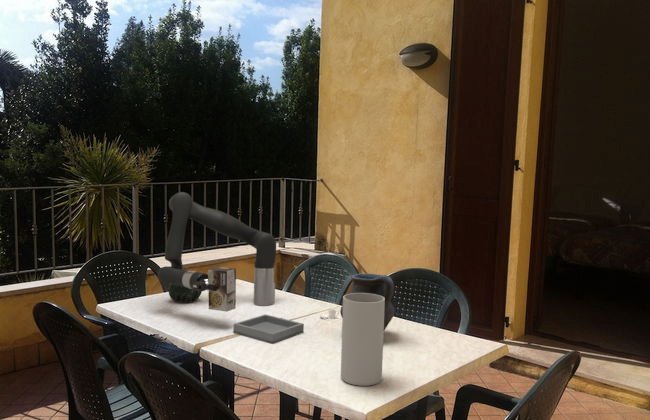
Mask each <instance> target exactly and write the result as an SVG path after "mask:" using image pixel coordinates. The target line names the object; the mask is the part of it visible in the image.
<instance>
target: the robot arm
mask: <svg viewBox="0 0 650 420" xmlns="http://www.w3.org/2000/svg"><path fill="white" fill-rule="evenodd" d="M168 207H169V209H170V211H172V216H171V217H172V219H171V224H170V229H169V233H168V237H167V239H166V244H165V245H166V246H165V253H164V260H165V261H168V262H169V263H170V266H162V267H160V268H159V269H158V271H157V279H158V280H159V282H161V283H162V284H169V285H170V284H175V285H179V286H182V287H187V288H189V289H193V290H197V291H202V292H205V291H208V292H209V290H212V291H217V285H212V284H208V273H206V272H201V271H196V270H189V269H188V270H187V269H184V268H183V259H182V256H183V249H184V243H185V236H186V227H187V223H188V219H190V220H193V221H195V222H197V223H199V224H201V225H203V226H205V227H206V228H209V229H210V230H213V231H214V232H217V233H219V234H221V235H223V236H226V237H228V238H231V239H236V240H239V241H242V242H243V243H246V244H247V245H250V246H251V247H253V248H254V249H255V250H256V252H255V253H256V254H255V260H254V264H253V265H254V266H253V268H254V270H253V271H254V272H253V305H256V306H262V307H263V306H264V307H265V306H272V305H273V304H274V303H276V302H275V301H276V299H275V298H276V283H275V264H276V263H275V262H276V260H277V259H276V257H277V242H276V241H277V240H276V238H275V237H274V236H273V235H272V234H270V233H268V232H265V231H262V230H258V229H257V228H256V229H255V228H253V227H251V226H249V225H247V224H245V223H243V222H242V221H241V220H239V219H237V218H236V217H234V216H232V215H230V214H228V213H226V212H223V211H221V210H219V209H215V208H210V207H206V206H203V205H201V204H199V203H197V202H195V201H193V198H192V196H191V195H190V194H189V193H187V192H184V191H179V192H177V193H174V195H172V196H171V197H170V199H169V201H168Z"/></svg>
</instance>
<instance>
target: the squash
mask: <svg viewBox="0 0 650 420" xmlns="http://www.w3.org/2000/svg"><path fill="white" fill-rule="evenodd" d="M202 292H203V291H197V290H193V289H189V288H187V287H182V286H179V285H175V284H169V287H168V295H169V298H170V299H171V300H172V301H174V302H181V303H182V302H184V303H186V304H189V303H193V302H195V301H197V300H198V299H199V298H200V297H201V295H202Z"/></svg>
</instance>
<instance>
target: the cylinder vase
mask: <svg viewBox="0 0 650 420" xmlns="http://www.w3.org/2000/svg"><path fill="white" fill-rule="evenodd" d="M342 305H343V318H342V317H341V320H342V321H341V323H342V324H341V350H340V351H341V352H340V354H341V355H340V377H341V379H342V380H343V382H345V383H347V384H349V385H352V386H353V385H354V386H358V387H368V386H373V385H374V386H375V385H377V384H379V383H380V382H381V381H382V379H383V359H384V357H383V356H384V355H383V353H384V332H385V331H384V308H385V298H384V297H382V296H380V295H376V294H370V293H351V294H350V293H348V294H345V295H343V296H342Z"/></svg>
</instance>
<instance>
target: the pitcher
mask: <svg viewBox="0 0 650 420" xmlns="http://www.w3.org/2000/svg"><path fill="white" fill-rule="evenodd" d="M350 279H351V281H352V287H351V290H350V292H349V294H351V293H370V294H376V295H380V296H382V297H384V298H385V308H384V332H385V330H386V329H387V328H388V326H389V324H390V323H391V321H392V319H393V318H394V315H395V312H396V311H395V307H394V305H393V304H392V302H391V300H392V298H393V295H394V292H395V283H394V281H393V279H392V278H391V276H389V275H387V274H377V273H375V274H374V273H355V274H353V275H351V277H350ZM340 316H341V319H342V318H343V304H342V305H341V307H340Z"/></svg>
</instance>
